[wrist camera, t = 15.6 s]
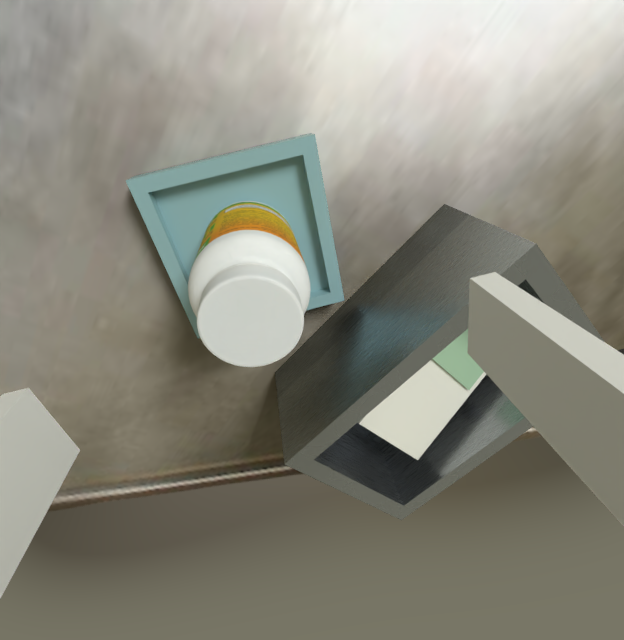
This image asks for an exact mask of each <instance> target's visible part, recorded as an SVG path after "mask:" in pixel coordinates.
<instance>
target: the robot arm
mask: <svg viewBox="0 0 624 640" xmlns="http://www.w3.org/2000/svg"><path fill="white" fill-rule="evenodd" d="M468 354H469V355H470V356H471V357H472V358H473V360H474V361H475V362H476V363H477V364H478V365H479V366H480V367H481V368H482V370H483V371H484V372H485V373H486V374H487V375H488V376H489V377H490V379H491V380H492V381H493V382H494V383H495V384H496V385H497V386H498V387H499V389H500V390H501V391H502V392H503V393H504V394H505V395H506V396H507V397H508V399H509V400H510V401H511V402H512V403H513V404H514V405H515V406H516V408H517V409H518V410H519V411H520V412H521V413H522V414H523V415H524V416H525V418H526V419H527V420H528V421H529V422H530V423H531V424H532V425H533V426H534V428H535V429H536V430H537V431H538V432H539V433H540V434H541V435H542V436H543V437H544V439H545V440H546V441H547V442H548V443H549V444H550V445H551V446H552V448H553V449H554V450H555V451H556V452H557V453H558V454H559V455H560V457H561V458H562V459H563V460H564V461H565V462H566V463H567V464H568V465H569V466H570V468H571V469H572V470H573V471H574V472H575V473H576V474H577V475H578V477H579V478H580V479H581V480H582V481H583V482H584V483H585V484H586V486H587V487H588V488H589V489H590V490H591V491H592V492H593V493H594V494H595V496H597V498H598V499H599V500H600V501H601V502H602V503H603V504H604V506H605V507H606V508H607V509H608V510H609V511H610V512H611V513H612V514H613V516H614V517H615V518H616V519H617V520H618V521H619V522H620V523H621V525H622V526H623V527H624V349H621V350H616V349H614V348H613V347H611V346H609V345H608V344H606V343H605V342H603V341H602V340H600V339H599V338H597V337H595V336H594V335H592V334H591V333H589V332H588V331H586V330H585V329H583V328H581V327H580V326H578V325H577V324H575V323H574V322H572V321H571V320H569V319H567V318H566V317H564V316H563V315H561V314H560V313H558V312H557V311H555V310H553V309H552V308H550V307H549V306H547V305H546V304H544V303H543V302H541V301H539V300H538V299H536V298H535V297H533V296H532V295H530V294H529V293H527V292H525V291H524V290H522V289H521V288H519V287H518V286H516V285H515V284H513V283H511V282H510V281H508V280H507V279H505V278H504V277H502V276H501V275H499V274H497V273H496V272H493V273H489V274H485V275H481V276H477V277H473V278H470V285H469V319H468ZM79 451H80V449H79V448H78V447H77V446H76V444H75V443H74V442H73V441H72V440H71V438H70V437H69V436H68V435H67V434H66V432H65V431H64V430H63V429H62V428H61V426H60V425H59V424H58V423H57V422H56V420H55V419H54V418H53V417H52V416H51V414H50V413H49V412H48V411H47V409H46V408H45V407H44V406H43V405H42V403H41V402H40V401H39V400H38V399H37V397H36V396H35V395H34V394H33V393H32V391H31V390H30V389H29V388H26V389H22V390H18V391H14V392H10V393H6V394H2V395H1V396H0V598H1V596H2V594H3V592H4V591H5V589H6V587H7V585H8V583H9V581H10V580H11V578H12V576H13V574H14V572H15V570H16V568H17V567H18V565H19V563H20V561H21V559H22V557H23V555H24V553H25V551H26V550H27V548H28V546H29V544H30V542H31V540H32V539H33V537H34V535H35V532H36V531H37V529H38V528H39V526H40V524H41V522H42V520H43V518H44V516H45V515H46V513H47V511H48V509H49V507H50V505H51V503H52V502H53V500H54V498H55V496H56V494H57V492H58V490H59V489H60V487H61V485H62V483H63V481H64V479H65V477H66V476H67V474H68V472H69V470H70V468H71V466H72V464H73V463H74V461H75V459H76V457H77V455H78V453H79Z"/></svg>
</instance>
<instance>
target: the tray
mask: <svg viewBox="0 0 624 640" xmlns="http://www.w3.org/2000/svg"><path fill="white" fill-rule="evenodd" d="M126 183H127V185H128V187H129V189H130V191H131V194H132V196H133V198H134V200H135V202H136V204H137V207H138V209H139V211H140V213H141V215H142V218H143V220H144V222H145V224H146V226H147V229H148V231H149V233H150V235H151V237H152V240H153V242H154V244H155V246H156V248H157V251H158V253H159V255H160V257H161V259H162V262H163V264H164V266H165V268H166V270H167V272H168V275H169V277H170V279H171V281H172V283H173V286H174V288H175V290H176V292H177V294H178V297H179V299H180V301H181V303H182V305H183V308H184V310H185V312H186V314H187V316H188V319H189V321H190V323H191V325H192V327H193V329H194V332H195V334H196V336H197V338H200V336H199V333H198V329H197V317H196V315H195V314H194V312H193V310H192V307H191V304H190V301H189V296H188V281H189V276H190V272H191V268H192V265H193V263H194V261H195V258H196V256H197V253H198V251H199V248H200V245H201V243H202V240H203V237H204V235H205V232H206V229H207V227H208V225H209V223H210V221H211V220H212V219H213V217H214V216H215V215H216V214H217V213H218V212H219V211H220V210H221V209H223V208H225V207H226V206H228V205H231V204H233V203H236V202H241V201H255V202H260V203H264V204H266V205H269V206H271V207H272V208H274V209H276V210H277V211H278V212H279V213H281V214H282V215H283V216H284V218H285V219H286V220H287V222H288V223H289V225H290V227H291V229H292V231H293V233H294V236H295V238H296V241H297V244H298V247H299V249H300V252H301V255H302V257H303V260H304V262H305V265H306V268H307V271H308V275H309V279H310V289H311V292H310V300H309V304H308V307H307V309H306V310H310V309H314V308H317V307H321V306H325V305H329V304H333V303H337V302H341V301H344V295H343V290H342V284H341V279H340V273H339V267H338V262H337V256H336V251H335V245H334V240H333V234H332V228H331V223H330V217H329V212H328V206H327V200H326V195H325V189H324V184H323V178H322V172H321V167H320V161H319V156H318V150H317V144H316V139H315V134H306V135H302V136H298V137H293V138H289V139H285V140H281V141H277V142H273V143H269V144H265V145H261V146H257V147H252V148H248V149H244V150H240V151H236V152H232V153H228V154H224V155H220V156H216V157H211V158H207V159H203V160H199V161H195V162H191V163H187V164H183V165H179V166H175V167H170V168H166V169H162V170H158V171H154V172H150V173H146V174H142V175H138V176H134V177H132V178H130V179H128V180H126Z"/></svg>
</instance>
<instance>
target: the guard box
mask: <svg viewBox="0 0 624 640" xmlns="http://www.w3.org/2000/svg"><path fill="white" fill-rule="evenodd" d="M493 272H496V273H497V274H499V275H501V276H502V277H504V278H505V279H507V280H508V281H510V282H511V283H513V284H515V285H516V286H518V287H519V288H521V289H522V290H524V291H525V292H527V293H529V294H530V295H532V296H533V297H535V298H536V299H538V300H539V301H541V302H543V303H544V304H546V305H547V306H549V307H550V308H552V309H553V310H555V311H557V312H558V313H560V314H561V315H563V316H564V317H566V318H567V319H569V320H571V321H572V322H574V323H575V324H577V325H578V326H580V327H581V328H583V329H585V330H586V331H588V332H589V333H591V334H592V335H594V336H595V337H597V338H599V339H600V340H602V341H603V342H604V340H603V339H602V337H601V336H600V335H599V333H598V332H597V330H596V329H595V327H594V326H593V325H592V323H591V322H590V320H589V319H588V317H587V316H586V314H585V313H584V312H583V310H582V309H581V307H580V306H579V304H578V303H577V302H576V300H575V299H574V297H573V296H572V294H571V293H570V291H569V290H568V289H567V287H566V286H565V284H564V283H563V281H562V280H561V279H560V277H559V276H558V274H557V273H556V271H555V270H554V268H553V267H552V266H551V264H550V263H549V261H548V260H547V258H546V257H545V256H544V254H543V253H542V251H541V250H540V248H539V247H538V245H537V244H536V243H533V242H531V241H529V240H527V239H524V238H522V237H520V236H517V235H515V234H513V233H510V232H508V231H506V230H503V229H501V228H499V227H496V226H494V225H492V224H489V223H487V222H485V221H482V220H480V219H478V218H476V217H473V216H471V215H469V214H466V213H464V212H462V211H459V210H457V209H455V208H452V207H450V206H448V205H445V204H444V205H443V206H442V207H441V208H440V209H439V210H438V211H437V212H436V213H435V214H434V215H433V216H432V217H431V218H430V219H429V220H428V221H427V222H426V223H425V224H424V225H423V226H422V227H421V228H420V229H419V230H418V231H417V232H416V233H415V234H414V235H413V236H412V237H411V238H410V239H409V240H408V241H407V242H406V243H405V244H404V245H403V246H402V247H401V248H400V249H399V250H398V251H397V252H396V253H395V254H394V255H393V256H392V257H391V258H390V259H389V260H388V261H387V262H386V263H385V264H384V265H383V266H382V267H381V268H380V269H379V270H378V271H377V272H376V273H375V274H374V275H373V276H372V277H371V278H370V279H369V280H368V281H367V282H366V283H365V284H364V285H363V286H362V287H361V288H360V289H359V290H358V291H357V292H356V293H355V294H354V295H353V296H352V297H351V298H350V299H349V300H348V301H347V302H346V303H345V304H344V305H343V306H342V307H341V308H340V309H339V310H338V311H337V312H336V313H335V314H334V315H333V316H332V317H331V318H330V319H329V320H328V321H327V322H326V323H325V324H324V325H322V326H321V327H320V328H319V329H318V330H317V331H316V332H315V333H314V334H313V335H312V336H311V337H310V338H309V339H308V340H307V341H306V342H305V343H304V344H303V345H302V346H301V347H300V348H299V349H298V350H297V351H296V352H295V353H294V354H293V355H292V356H291V357H290V358H289V359H288V360H287V361H286V362H285V363H284V364H283V365H282V366H281V367H280V368H279V369H278V370H277V371H276V372H275V377H276V387H277V396H278V406H279V416H280V426H281V435H282V445H283V455H284V464H285V465H287V466H289V467H291V468H293V469H295V470H297V471H299V472H302V473H304V474H306V475H308V476H310V477H312V478H314V479H316V480H318V481H320V482H323V483H325V484H327V485H329V486H331V487H333V488H335V489H337V490H339V491H341V492H343V493H346V494H348V495H350V496H352V497H354V498H356V499H358V500H360V501H362V502H364V503H367V504H369V505H371V506H373V507H375V508H377V509H379V510H381V511H383V512H385V513H387V514H390V515H392V516H394V517H396V518H398V519H400V520H402V519H404V518H405V517H406V516H408V515H409V514H411V513H412V512H413V511H415V510H416V509H418V508H419V507H421V506H422V505H423V504H425V503H426V502H427V501H429V500H430V499H432V498H433V497H435V496H436V495H437V494H438V493H440V492H441V491H443V490H444V489H446V488H447V487H448V486H450V485H451V484H453V483H454V482H456V481H457V480H458V479H460V478H461V477H463V476H464V475H465V474H467V473H468V472H469V471H471V470H472V469H474V468H475V467H477V466H478V465H479V464H481V463H482V462H484V461H485V460H486V459H488V458H489V457H491V456H492V455H493V454H495V453H496V452H498V451H499V450H500V449H502V448H503V447H504V446H506V445H507V444H509V443H510V442H512V441H513V440H514V439H516V438H517V437H519V436H520V435H521V434H523V433H524V432H526V431H527V430H528V429H530V428H531V427H533V425H532V424H531V423H530V422H529V421H528V420H527V419H526V418H525V416H524V415H523V414H522V413H521V412H520V411H519V410H518V409H517V408H516V406H515V405H514V404H513V403H512V402H511V401H510V400H509V399H508V397H507V396H506V395H505V394H504V393H503V392H502V391H501V390H500V389H499V387H498V386H497V385H496V384H495V383H494V382H493V381H492V380H491V379H490V377H489V376H488V375H487V374H486V375H485V377H484V378H483V379H482V380H481V382H480V383H479V384H478V386H477V387H476V388H475V389H474V391H473V392H472V393H471V394H470V396H469V397H468V398H467V399H466V401H465V402H464V403H463V405H462V406H461V407H460V408H459V409H458V411H457V412H456V413H455V414H454V416H453V417H452V418H451V419H450V421H449V422H448V423H447V424H446V426H445V427H444V428H443V429H442V431H441V432H440V433H439V434H438V436H437V437H436V438H435V439H434V441H433V442H432V443H431V444H430V446H429V447H428V448H427V449H426V451H425V452H424V453H423V454H422V456H421V457H420V458H419V459H418V460H417V459H415V458H413V457H412V456H410V455H409V454H407V453H405V452H404V451H402V450H400V449H399V448H397V447H396V446H394V445H392V444H391V443H389V442H388V441H386V440H384V439H383V438H381V437H380V436H378V435H376V434H375V433H373V432H371V431H370V430H368V429H367V428H365V427H363V426H362V425H360V424H359V423H358V422H359V421H360V420H361V419H362V418H363V417H365V416H366V415H367V414H368V413H369V412H370V411H372V410H373V409H374V408H375V407H376V406H378V405H379V404H380V403H381V402H382V401H383V400H385V399H386V398H387V397H388V396H389V395H390V394H392V393H393V392H394V391H395V390H396V389H397V388H399V387H400V386H401V385H402V384H403V383H405V382H406V381H407V380H408V379H409V378H410V377H412V376H413V375H414V374H415V373H416V372H417V371H419V370H420V369H421V368H422V367H423V366H424V365H426V364H427V363H428V362H429V361H430V360H432V359H433V358H434V357H435V356H436V355H437V354H439V353H440V352H441V351H442V350H443V349H444V348H446V347H447V346H448V345H449V344H450V343H451V342H453V341H454V340H455V339H456V338H457V337H459V336H460V335H461V334H462V333H463V332H464V331H466V330H467V329H468V319H469V285H470V278H473V277H477V276H481V275H485V274H489V273H493Z"/></svg>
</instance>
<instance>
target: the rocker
mask: <svg viewBox="0 0 624 640" xmlns="http://www.w3.org/2000/svg"><path fill="white" fill-rule="evenodd" d="M485 375H486V373H485V372H484V371H483V370H482V368H481V367H480V366H479V365H478V364H477V363H476V362H475V361H474V360H473V358H472V357H471V356H470V355H469V354H468V329H467V330H466V331H464V332H463V333H462V334H461V335H460V336H459V337H457V338H456V339H455V340H454V341H453V342H451V343H450V344H449V345H448V346H447V347H446V348H444V349H443V350H442V351H441V352H440V353H439V354H437V355H436V356H435V357H434V358H433V359H432V360H430V361H429V362H428V363H427V364H426V365H424V366H423V367H422V368H421V369H420V370H419V371H417V372H416V373H415V374H414V375H413V376H412V377H410V378H409V379H408V380H407V381H406V382H405V383H403V384H402V385H401V386H400V387H399V388H397V389H396V390H395V391H394V392H393V393H392V394H390V395H389V396H388V397H387V398H386V399H385V400H383V401H382V402H381V403H380V404H379V405H378V406H376V407H375V408H374V409H373V410H372V411H370V412H369V413H368V414H367V415H366V416H365V417H363V418H362V419H361V420H360V421H359V422H358V423H359V424H360V425H362V426H363V427H365V428H367V429H368V430H370V431H371V432H373V433H375V434H376V435H378V436H380V437H381V438H383V439H384V440H386V441H388V442H389V443H391V444H392V445H394V446H396V447H397V448H399V449H400V450H402V451H404V452H405V453H407V454H409V455H410V456H412V457H413V458H415V459H417V460H418V459H419V458H420V457H421V456H422V454H423V453H424V452H425V451H426V449H427V448H428V447H429V446H430V444H431V443H432V442H433V441H434V439H435V438H436V437H437V436H438V434H439V433H440V432H441V431H442V429H443V428H444V427H445V426H446V424H447V423H448V422H449V421H450V419H451V418H452V417H453V416H454V414H455V413H456V412H457V411H458V409H459V408H460V407H461V406H462V405H463V403H464V402H465V401H466V399H467V398H468V397H469V396H470V394H471V393H472V392H473V391H474V389H475V388H476V387H477V386H478V384H479V383H480V382H481V380H482V379H483V378H484V377H485Z"/></svg>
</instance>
